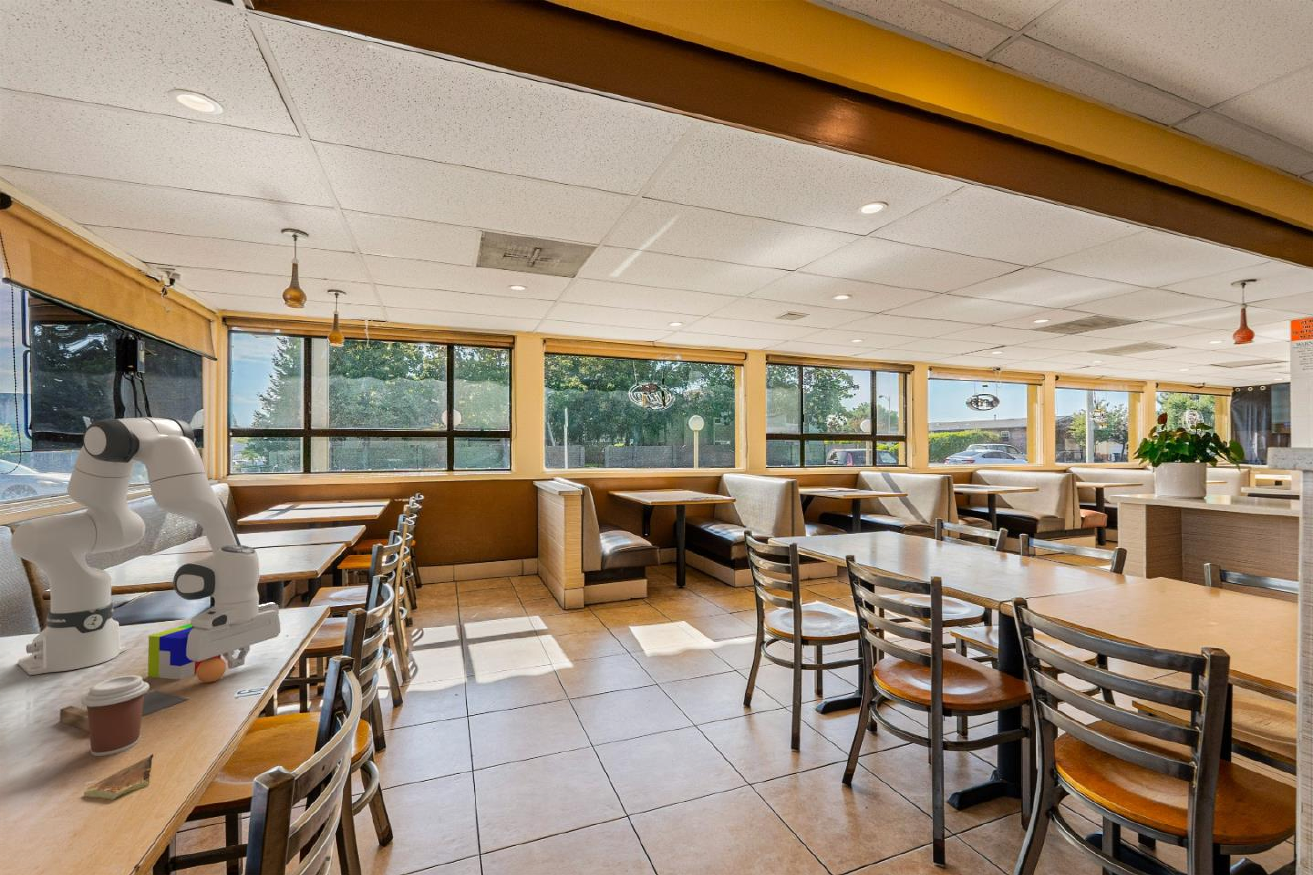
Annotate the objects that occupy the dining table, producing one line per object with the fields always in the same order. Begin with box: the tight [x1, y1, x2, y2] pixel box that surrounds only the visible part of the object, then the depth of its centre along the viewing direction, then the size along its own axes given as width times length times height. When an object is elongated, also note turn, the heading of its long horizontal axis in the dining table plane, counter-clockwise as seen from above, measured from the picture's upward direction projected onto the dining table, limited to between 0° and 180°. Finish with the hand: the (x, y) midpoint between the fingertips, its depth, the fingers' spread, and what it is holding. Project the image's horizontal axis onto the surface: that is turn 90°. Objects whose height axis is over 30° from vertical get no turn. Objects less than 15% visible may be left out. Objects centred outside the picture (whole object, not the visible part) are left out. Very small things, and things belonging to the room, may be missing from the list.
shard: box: [83, 754, 154, 800], centre depth 94 cm, size 11×8×2 cm
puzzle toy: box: [147, 622, 222, 680], centre depth 140 cm, size 10×10×10 cm
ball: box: [195, 657, 227, 683], centre depth 133 cm, size 6×6×6 cm
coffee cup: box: [81, 674, 150, 757], centre depth 104 cm, size 9×9×12 cm
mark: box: [142, 689, 189, 717], centre depth 120 cm, size 12×12×1 cm
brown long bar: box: [59, 705, 89, 732], centre depth 112 cm, size 14×2×2 cm, turn 68°
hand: (236, 666), depth 138 cm, fingers closed
